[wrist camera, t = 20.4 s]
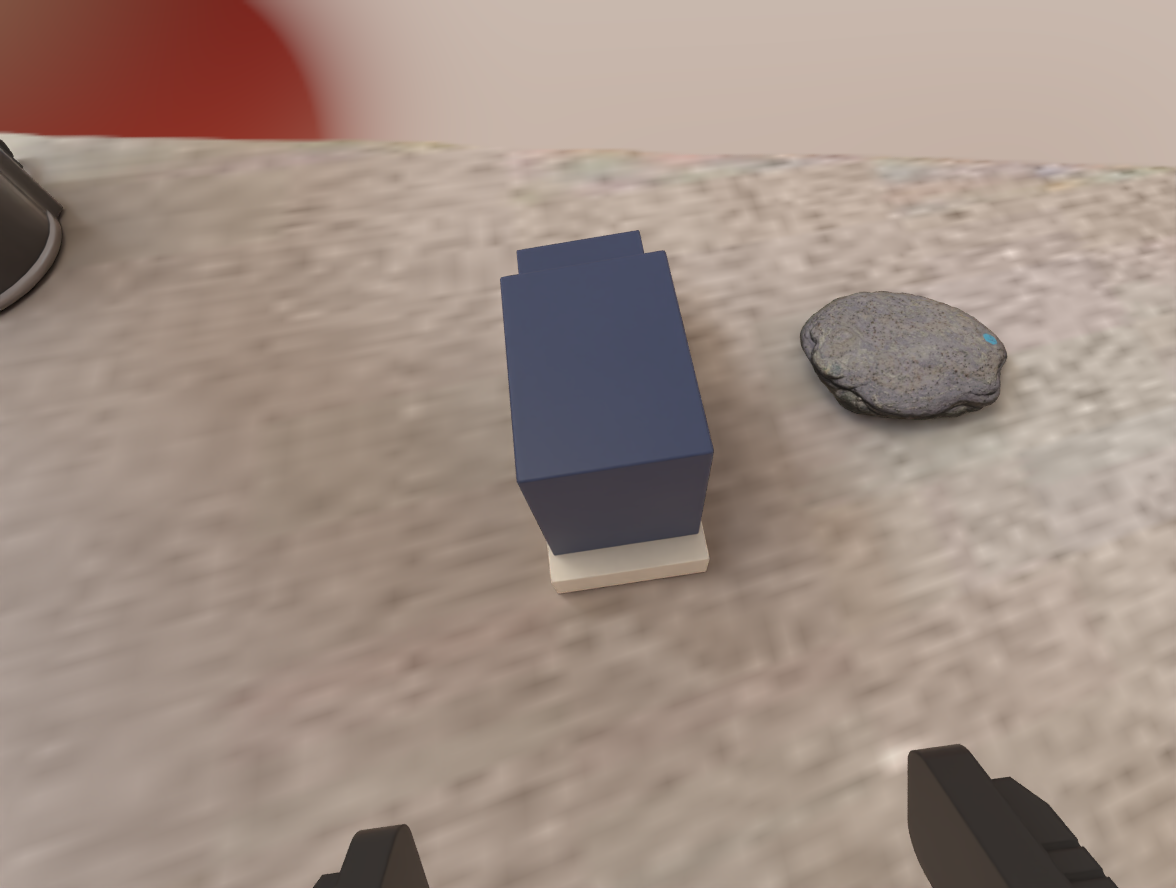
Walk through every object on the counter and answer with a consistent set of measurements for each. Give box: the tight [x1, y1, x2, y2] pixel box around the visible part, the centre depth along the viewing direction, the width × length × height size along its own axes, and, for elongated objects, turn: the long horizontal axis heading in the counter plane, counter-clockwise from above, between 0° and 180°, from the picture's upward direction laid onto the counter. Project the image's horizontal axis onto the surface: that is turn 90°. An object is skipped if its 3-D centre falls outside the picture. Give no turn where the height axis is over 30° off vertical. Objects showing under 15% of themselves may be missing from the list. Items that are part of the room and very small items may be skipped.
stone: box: [800, 291, 1007, 419], centre depth 27 cm, size 7×8×2 cm
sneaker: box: [500, 230, 714, 594], centre depth 24 cm, size 14×6×9 cm, turn 7°
